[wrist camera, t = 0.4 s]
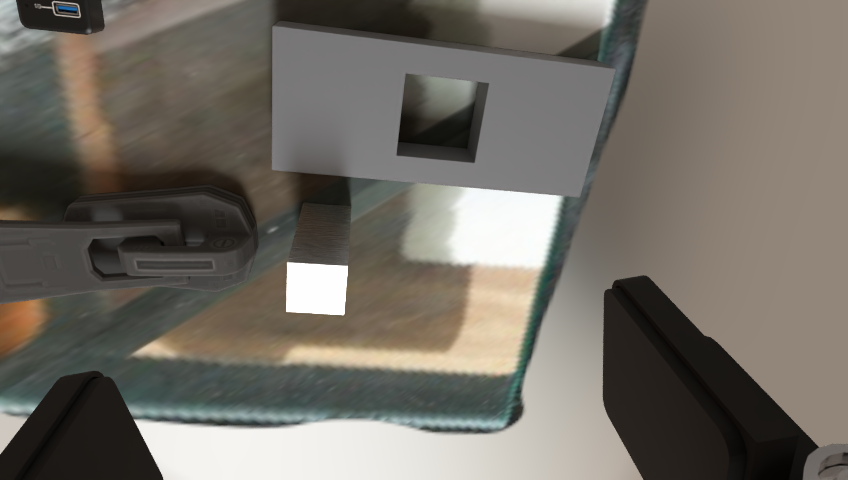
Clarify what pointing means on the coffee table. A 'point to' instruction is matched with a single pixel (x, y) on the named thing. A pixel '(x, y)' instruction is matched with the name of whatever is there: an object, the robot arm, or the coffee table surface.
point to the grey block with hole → (382, 102)
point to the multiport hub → (62, 15)
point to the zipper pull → (131, 244)
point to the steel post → (319, 260)
